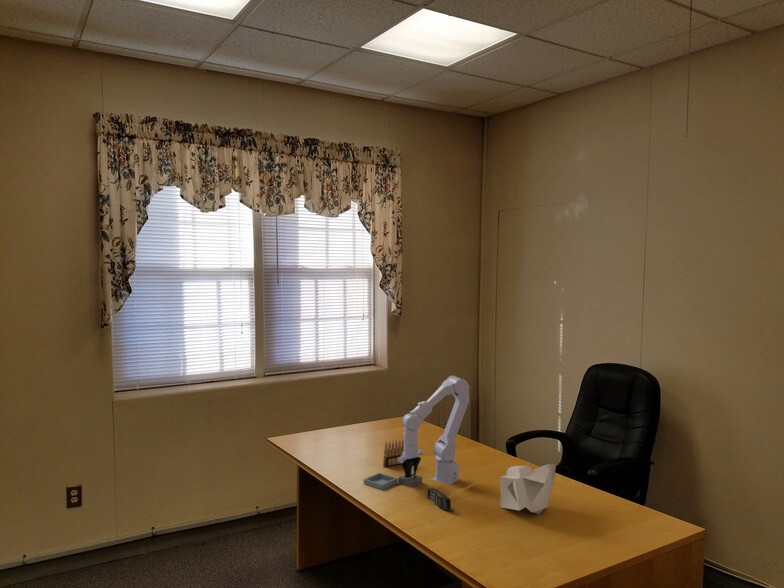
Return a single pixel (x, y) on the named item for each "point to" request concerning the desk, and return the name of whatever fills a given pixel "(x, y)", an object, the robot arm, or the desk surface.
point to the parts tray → (380, 481)
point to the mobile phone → (439, 499)
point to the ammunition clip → (393, 453)
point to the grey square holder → (410, 480)
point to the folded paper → (527, 487)
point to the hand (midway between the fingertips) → (410, 475)
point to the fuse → (412, 473)
